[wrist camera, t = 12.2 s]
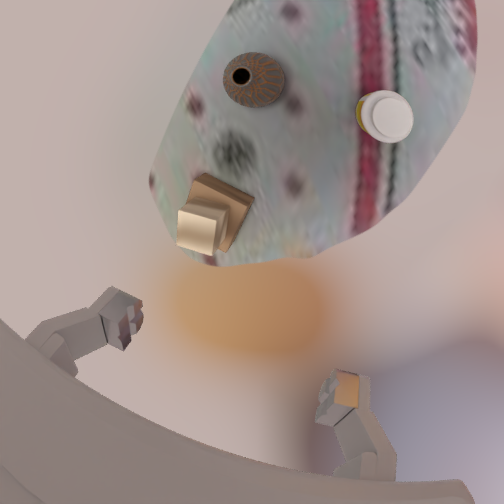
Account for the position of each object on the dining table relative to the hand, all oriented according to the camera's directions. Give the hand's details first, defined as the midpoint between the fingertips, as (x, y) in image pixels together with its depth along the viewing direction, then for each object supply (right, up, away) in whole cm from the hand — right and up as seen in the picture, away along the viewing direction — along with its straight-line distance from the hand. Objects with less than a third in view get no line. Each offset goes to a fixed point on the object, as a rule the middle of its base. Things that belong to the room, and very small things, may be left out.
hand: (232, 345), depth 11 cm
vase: (+2, +25, +22) cm, 33 cm away
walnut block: (-4, +10, +32) cm, 34 cm away
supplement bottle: (+16, +21, +20) cm, 33 cm away
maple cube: (-5, +8, +29) cm, 30 cm away
